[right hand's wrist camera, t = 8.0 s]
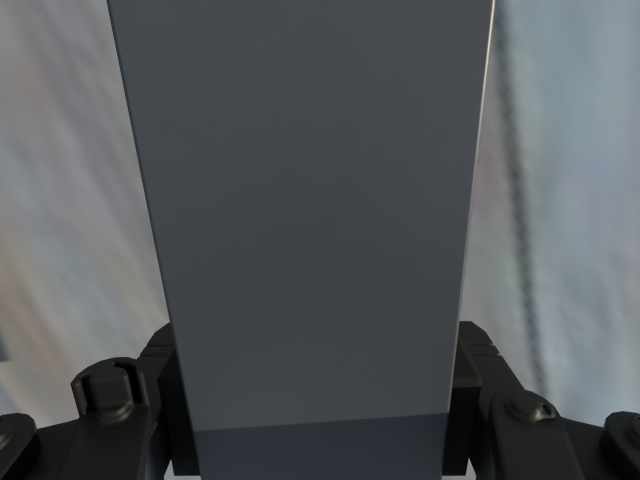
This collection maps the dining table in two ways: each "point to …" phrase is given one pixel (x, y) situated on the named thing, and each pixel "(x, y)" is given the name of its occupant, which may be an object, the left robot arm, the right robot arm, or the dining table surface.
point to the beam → (310, 221)
